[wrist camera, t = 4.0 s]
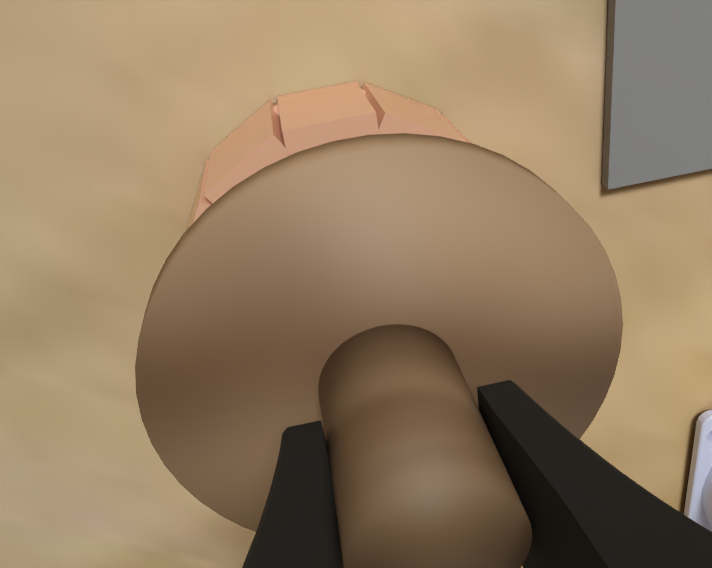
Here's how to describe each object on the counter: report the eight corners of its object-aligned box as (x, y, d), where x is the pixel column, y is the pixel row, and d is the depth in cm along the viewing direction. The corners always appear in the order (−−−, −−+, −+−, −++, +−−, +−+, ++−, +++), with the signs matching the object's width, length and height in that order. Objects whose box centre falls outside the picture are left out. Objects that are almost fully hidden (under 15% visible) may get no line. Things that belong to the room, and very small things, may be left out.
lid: (579, 485, 17) (688, 678, 13) (193, 548, 16) (174, 776, 12) (635, 105, 12) (845, 216, 8) (80, 166, 11) (-19, 327, 7)
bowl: (493, 328, 22) (528, 387, 19) (233, 382, 22) (231, 450, 19) (478, 58, 18) (520, 84, 15) (151, 120, 17) (132, 159, 15)
